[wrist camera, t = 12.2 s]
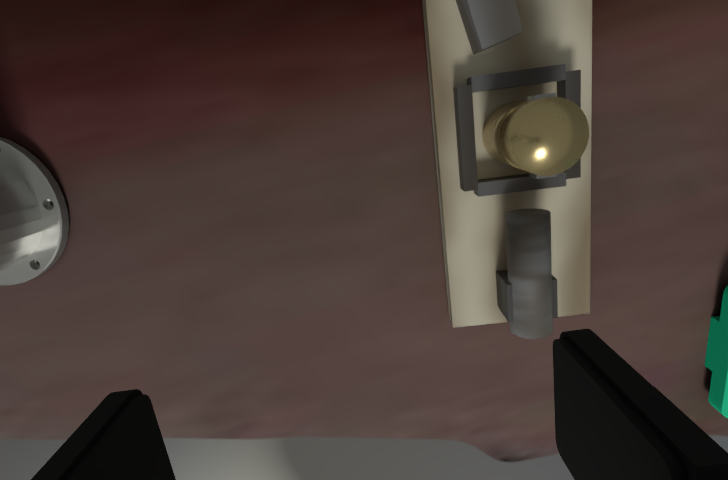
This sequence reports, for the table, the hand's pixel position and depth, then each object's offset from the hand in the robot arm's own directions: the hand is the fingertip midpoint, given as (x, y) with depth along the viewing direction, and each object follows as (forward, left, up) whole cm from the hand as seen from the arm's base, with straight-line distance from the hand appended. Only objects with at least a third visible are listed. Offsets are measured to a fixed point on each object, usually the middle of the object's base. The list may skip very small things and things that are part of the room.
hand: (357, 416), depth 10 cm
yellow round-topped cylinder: (+11, +4, -24) cm, 27 cm away
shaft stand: (+11, +4, -26) cm, 29 cm away
